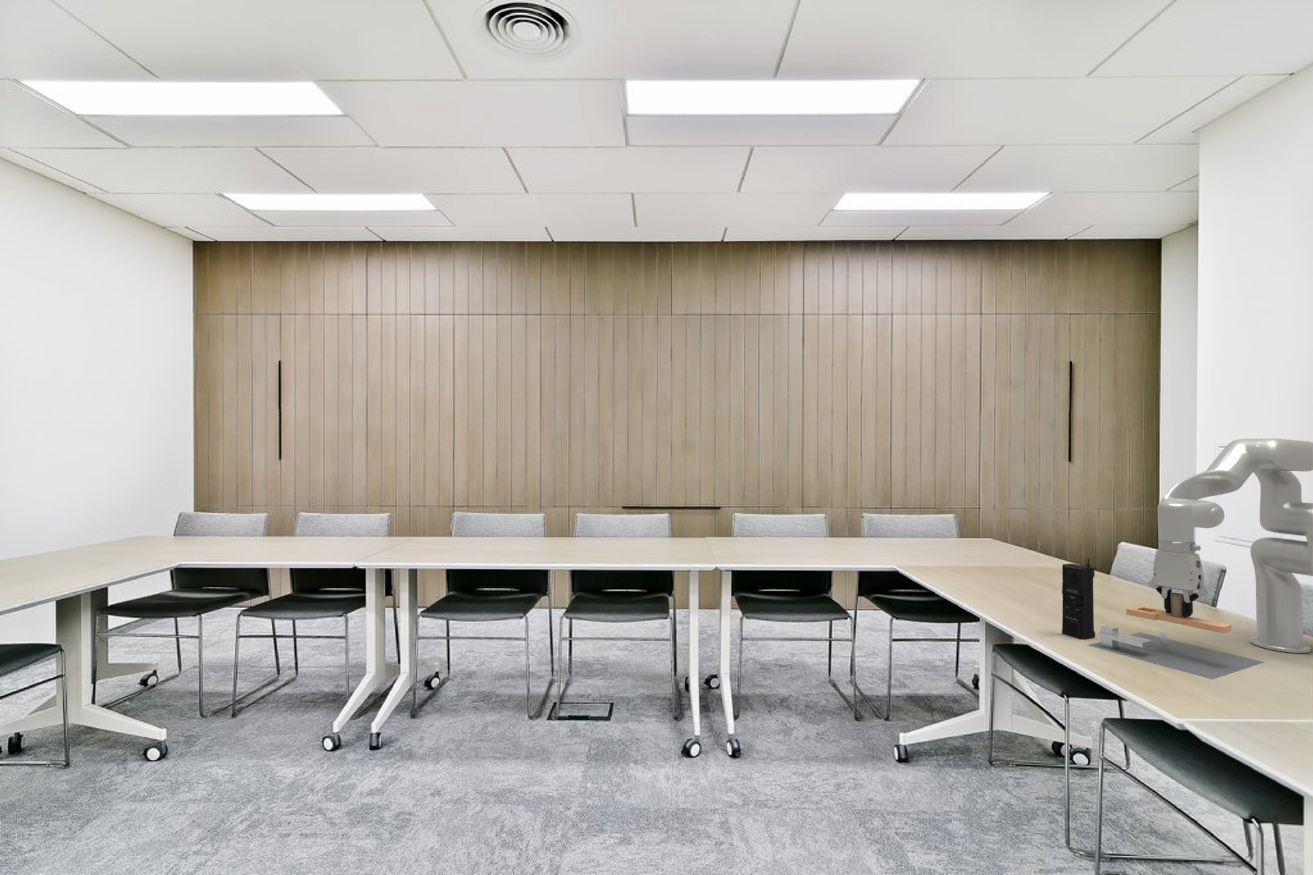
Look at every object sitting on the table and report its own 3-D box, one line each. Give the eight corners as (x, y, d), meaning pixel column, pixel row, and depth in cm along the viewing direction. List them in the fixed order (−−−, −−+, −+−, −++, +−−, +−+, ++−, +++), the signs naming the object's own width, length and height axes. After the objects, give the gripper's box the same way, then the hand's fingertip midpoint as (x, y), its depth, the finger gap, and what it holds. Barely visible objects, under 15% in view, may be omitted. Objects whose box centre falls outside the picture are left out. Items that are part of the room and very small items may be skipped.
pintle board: (1139, 637, 190) (1139, 620, 190) (1264, 667, 164) (1264, 648, 164) (1087, 650, 178) (1087, 632, 178) (1212, 685, 152) (1212, 664, 152)
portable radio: (1057, 637, 190) (1056, 556, 190) (1070, 635, 192) (1069, 554, 192) (1082, 645, 183) (1081, 560, 183) (1096, 642, 185) (1095, 559, 185)
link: (1126, 614, 177) (1125, 587, 177) (1140, 610, 180) (1139, 584, 180) (1220, 634, 158) (1219, 604, 158) (1234, 630, 161) (1233, 600, 161)
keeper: (1109, 648, 179) (1108, 624, 179) (1152, 660, 169) (1152, 634, 169) (1098, 651, 177) (1098, 626, 177) (1142, 663, 167) (1142, 637, 167)
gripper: (1221, 550, 163) (1223, 619, 163) (1149, 541, 178) (1151, 605, 178) (1206, 553, 160) (1208, 624, 160) (1134, 544, 175) (1136, 609, 174)
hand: (1178, 613), depth 169 cm, fingers closed on link, 3 cm apart
